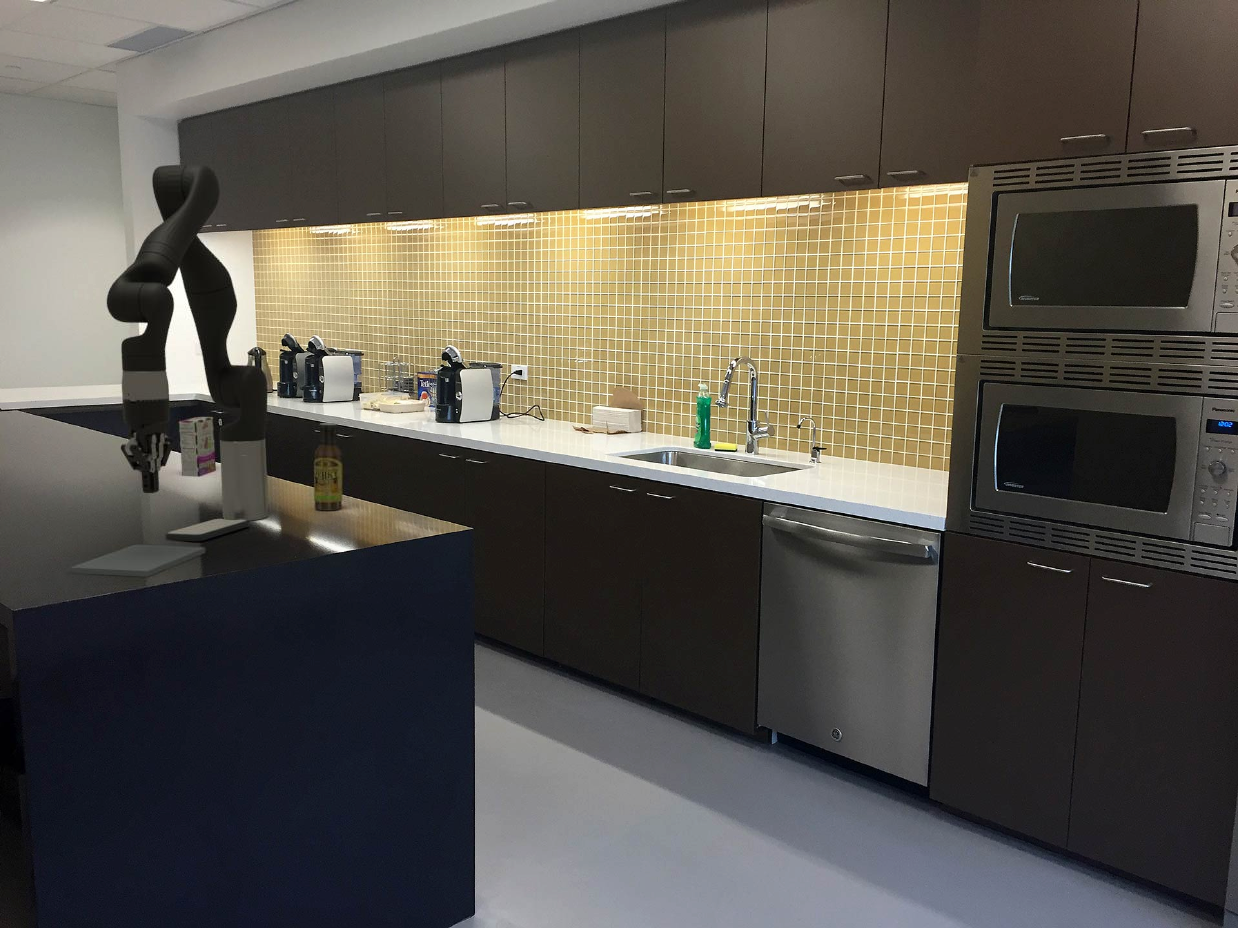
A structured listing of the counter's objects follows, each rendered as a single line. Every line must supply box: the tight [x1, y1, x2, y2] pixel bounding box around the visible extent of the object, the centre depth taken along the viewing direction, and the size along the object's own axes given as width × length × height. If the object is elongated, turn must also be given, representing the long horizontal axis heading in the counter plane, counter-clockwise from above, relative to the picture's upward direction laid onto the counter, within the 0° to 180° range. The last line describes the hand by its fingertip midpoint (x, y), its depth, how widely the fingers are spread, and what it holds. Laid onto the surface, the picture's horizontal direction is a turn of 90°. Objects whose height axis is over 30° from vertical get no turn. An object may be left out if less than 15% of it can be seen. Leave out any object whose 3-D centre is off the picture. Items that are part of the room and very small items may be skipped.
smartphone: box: [165, 518, 250, 542], centre depth 199 cm, size 9×2×16 cm
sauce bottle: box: [313, 422, 343, 511], centre depth 226 cm, size 6×6×20 cm
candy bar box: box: [178, 416, 217, 478], centre depth 268 cm, size 11×5×16 cm, turn 179°
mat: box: [69, 544, 206, 578], centre depth 175 cm, size 18×14×1 cm
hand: (151, 492), depth 177 cm, fingers closed
